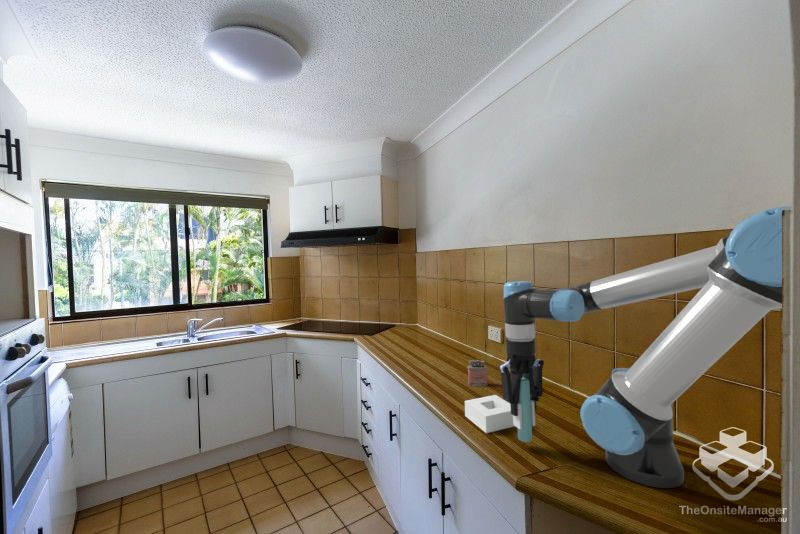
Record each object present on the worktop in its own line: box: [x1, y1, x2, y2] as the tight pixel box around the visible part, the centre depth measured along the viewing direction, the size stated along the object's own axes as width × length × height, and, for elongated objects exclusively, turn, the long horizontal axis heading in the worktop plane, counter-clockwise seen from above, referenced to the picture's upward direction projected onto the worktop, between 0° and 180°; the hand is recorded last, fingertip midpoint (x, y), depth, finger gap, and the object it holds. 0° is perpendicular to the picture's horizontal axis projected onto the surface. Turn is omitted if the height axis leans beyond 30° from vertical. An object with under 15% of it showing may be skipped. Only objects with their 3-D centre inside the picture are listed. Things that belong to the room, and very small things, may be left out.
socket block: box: [464, 394, 516, 434], centre depth 105 cm, size 12×12×5 cm
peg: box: [517, 376, 533, 443], centre depth 89 cm, size 4×4×16 cm
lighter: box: [466, 359, 489, 387], centre depth 136 cm, size 8×3×10 cm, turn 84°
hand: (524, 425), depth 89 cm, fingers closed on peg, 3 cm apart
